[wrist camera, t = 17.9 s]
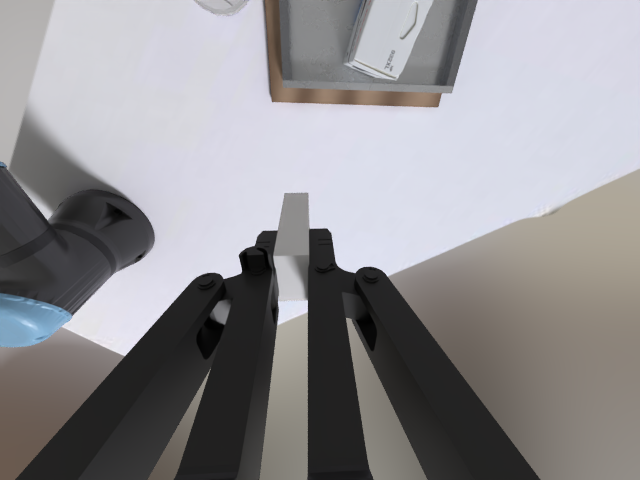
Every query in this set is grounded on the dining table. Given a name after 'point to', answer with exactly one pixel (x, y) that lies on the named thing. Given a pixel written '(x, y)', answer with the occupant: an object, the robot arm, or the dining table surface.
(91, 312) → the dining table surface
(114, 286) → the dining table surface
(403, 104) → the panel
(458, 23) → the metal serving tray
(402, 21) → the ink box
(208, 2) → the cup
